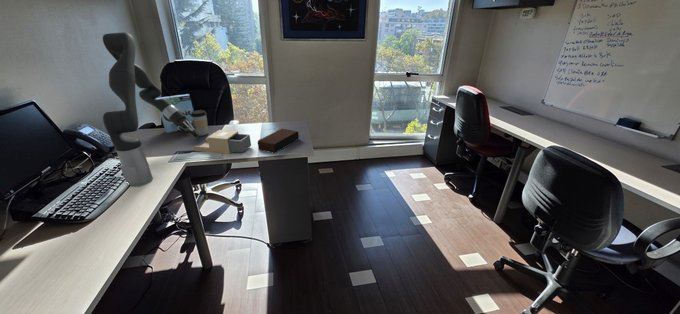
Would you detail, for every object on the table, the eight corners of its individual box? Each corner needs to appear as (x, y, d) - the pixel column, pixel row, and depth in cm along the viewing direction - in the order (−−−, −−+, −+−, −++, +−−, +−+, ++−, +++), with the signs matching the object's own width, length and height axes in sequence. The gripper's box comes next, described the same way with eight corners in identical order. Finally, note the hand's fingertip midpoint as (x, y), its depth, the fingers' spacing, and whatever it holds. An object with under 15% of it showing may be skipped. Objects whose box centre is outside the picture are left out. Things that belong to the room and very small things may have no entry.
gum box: (196, 125, 198) (188, 93, 188) (197, 127, 194) (189, 95, 184) (165, 131, 189) (155, 97, 179) (165, 133, 185) (155, 99, 175)
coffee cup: (213, 132, 187) (209, 110, 180) (204, 137, 178) (199, 114, 172) (202, 130, 189) (197, 109, 182) (191, 135, 181) (186, 113, 174)
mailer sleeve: (229, 153, 156) (226, 138, 152) (194, 150, 159) (190, 135, 155) (240, 145, 166) (238, 131, 162) (207, 142, 170) (204, 128, 166)
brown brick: (283, 136, 180) (282, 128, 177) (298, 139, 175) (298, 131, 173) (258, 150, 161) (257, 140, 158) (275, 154, 156) (273, 144, 154)
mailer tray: (242, 152, 155) (240, 141, 152) (210, 149, 158) (208, 138, 155) (251, 145, 163) (249, 134, 160) (220, 142, 167) (218, 132, 164)
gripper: (168, 113, 151) (193, 136, 155) (184, 107, 163) (207, 128, 166) (162, 122, 155) (187, 144, 158) (179, 115, 166) (202, 136, 170)
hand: (197, 136), depth 162 cm, fingers closed
